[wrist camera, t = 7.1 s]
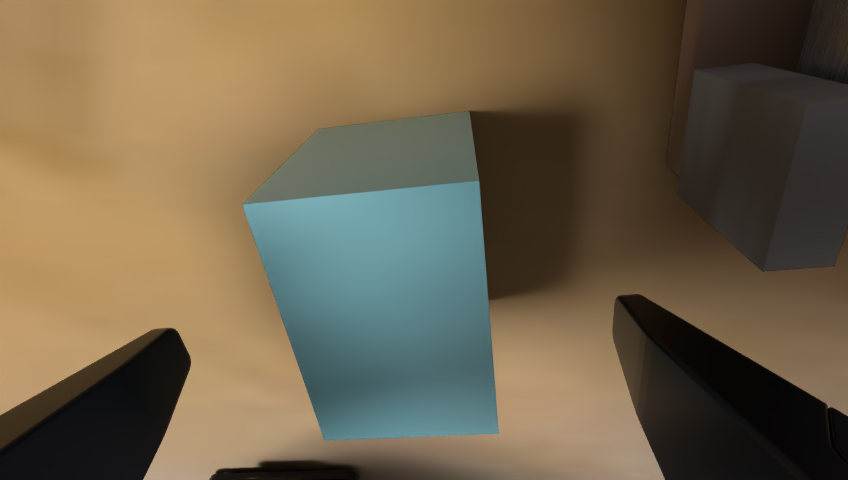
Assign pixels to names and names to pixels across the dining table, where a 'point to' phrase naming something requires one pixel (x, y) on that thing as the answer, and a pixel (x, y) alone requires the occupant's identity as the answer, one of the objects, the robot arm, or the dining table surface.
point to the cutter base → (760, 133)
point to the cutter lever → (826, 42)
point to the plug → (383, 277)
